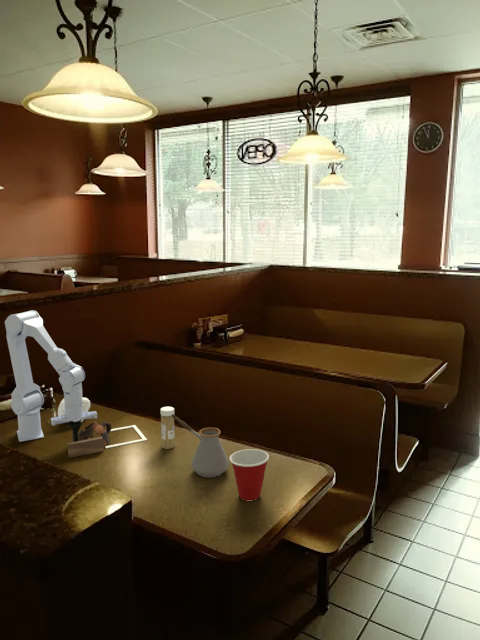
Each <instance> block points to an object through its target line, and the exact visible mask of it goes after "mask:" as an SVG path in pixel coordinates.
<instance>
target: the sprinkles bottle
mask: <svg viewBox="0 0 480 640" xmlns="http://www.w3.org/2000/svg"><path fill="white" fill-rule="evenodd" d="M172 414H173V415H175V408H174V407H172V406H164V407H163V406H162V407H161V408H160V426H161V427H160V430H161V433H160V434H161V448H163V449H165V450H167V449H168V450H170V449H173V448H174V447H175V446H176V443H175V441H176V440H175V435H176V434H175V418H173V417H172V416H171V415H172ZM170 416H171V417H170ZM169 417H170V419H171V420H170V419H169ZM172 418H173V419H172Z"/></svg>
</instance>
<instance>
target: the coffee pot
mask: <svg viewBox="0 0 480 640" xmlns="http://www.w3.org/2000/svg"><path fill="white" fill-rule="evenodd" d="M171 416H172V417H173V418H174V421H176V422H178V423H179V424H180V425H181V426H182V427H183V428H185V429H186V430H188V431H189V432H191V433H192V434H193V435H194V436H196V438H197V439H199V442H198V445H197V447H196V450H195V452H194V454H193V457H192V459H191V462H190V465H191V468H192V469H193V471H194V472H195V473H196V474H197V475H199V476H200V477H203V478H212V477H213V478H217V477H219V476H221V475H222V474H223V473H224V472H226V470H227V469H228V467H229V466H230V465H229V464H230V459H229V458H228V456H227V454H226V451H225V449H224V446H223V445H222V443H221V441H220V435H221V430H220V429H219V428H217V427H204V428H202V429H200V430H199V433H197V432H196V431H195V430H194V429H193V428H192V427H191V426H190V425H188V424H187V423H186V422H185V421H183V420H181V419H180V418H179V417H178V416H176V415H175V414H174V415H173V414H172V415H171ZM171 416H170V417H171ZM170 417H169V419H170ZM173 418H172V419H173ZM170 420H171V419H170ZM216 476H217V477H216Z"/></svg>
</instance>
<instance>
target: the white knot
mask: <svg viewBox="0 0 480 640" xmlns="http://www.w3.org/2000/svg"><path fill="white" fill-rule="evenodd" d="M82 399H83V412H89V410H90V408H91V400H89V398H87V397H82ZM58 405H59V406H58V408H57V417H58V416H62V415H65V402H64V398H62V400H61V401H60V403H59V404H58ZM83 421H84V420H81V423H82V422H83Z"/></svg>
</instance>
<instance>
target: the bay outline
mask: <svg viewBox="0 0 480 640" xmlns="http://www.w3.org/2000/svg"><path fill="white" fill-rule="evenodd" d="M132 428H133V429H134V431H135V432H136V433H137V434H138V436H139V437H140V438H141V439H135V440H130V441H124V442H121V443H116V444H110V445H106V446H105V447H104V448H105V449H110V448H111V449H112V448H115V447H120V446H126V445H132V444H134V443H141V442H145V441H148V439H147V437H145V435H144V434H143V433H142V431H141V430H140V429H139V427H137V425H136V424H132V425H128V426H123V427H122V426H121V427H115V428H111V431H110V433H111V432H115V431H116V432H117V431H120V430H126V429H132Z"/></svg>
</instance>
